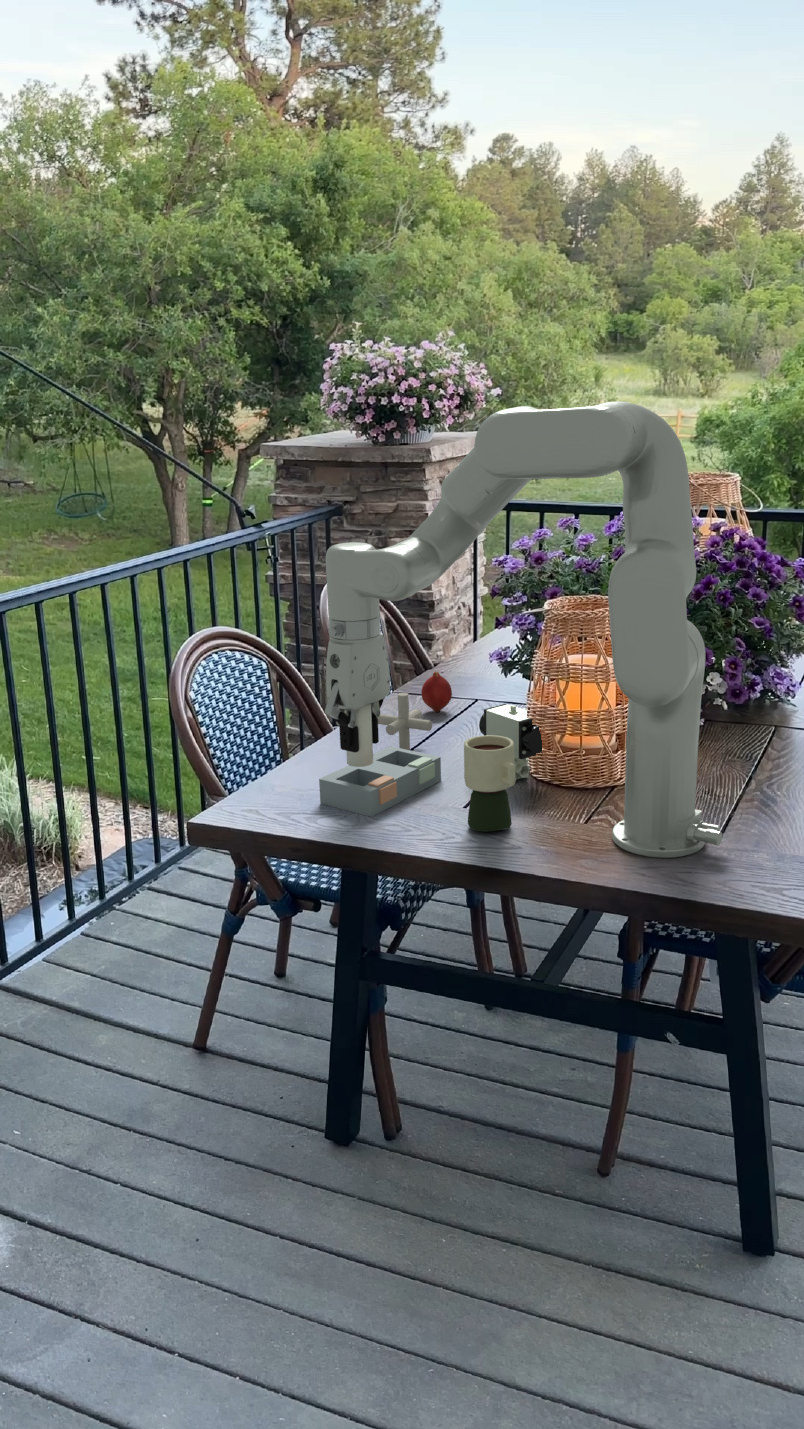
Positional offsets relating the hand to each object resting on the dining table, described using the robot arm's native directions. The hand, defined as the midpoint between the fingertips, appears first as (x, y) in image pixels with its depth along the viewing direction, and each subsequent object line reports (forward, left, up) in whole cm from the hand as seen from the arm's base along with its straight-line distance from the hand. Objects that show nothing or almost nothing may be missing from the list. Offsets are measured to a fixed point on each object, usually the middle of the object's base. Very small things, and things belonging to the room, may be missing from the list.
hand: (359, 745), depth 176 cm
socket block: (0, -5, -9) cm, 10 cm away
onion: (+17, -44, -9) cm, 48 cm away
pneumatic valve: (-14, -22, -9) cm, 28 cm away
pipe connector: (+9, -23, -9) cm, 26 cm away
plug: (0, 0, -3) cm, 3 cm away
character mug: (-22, -2, -9) cm, 24 cm away
